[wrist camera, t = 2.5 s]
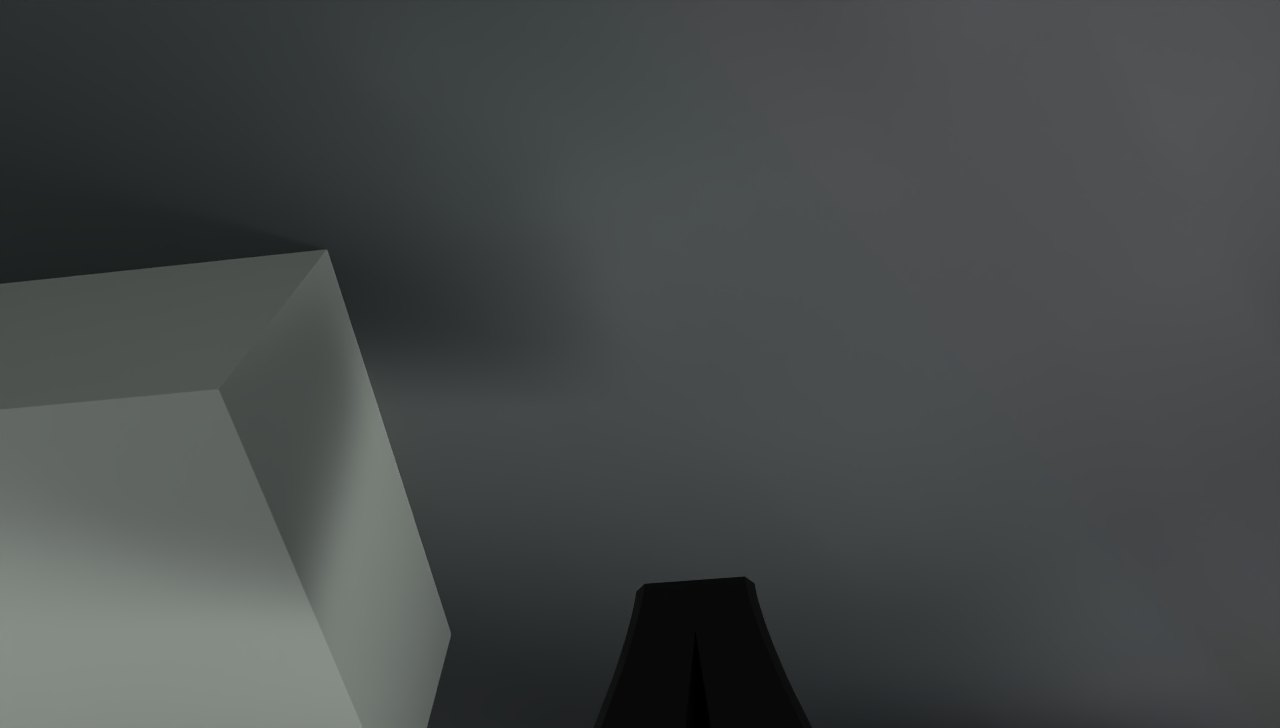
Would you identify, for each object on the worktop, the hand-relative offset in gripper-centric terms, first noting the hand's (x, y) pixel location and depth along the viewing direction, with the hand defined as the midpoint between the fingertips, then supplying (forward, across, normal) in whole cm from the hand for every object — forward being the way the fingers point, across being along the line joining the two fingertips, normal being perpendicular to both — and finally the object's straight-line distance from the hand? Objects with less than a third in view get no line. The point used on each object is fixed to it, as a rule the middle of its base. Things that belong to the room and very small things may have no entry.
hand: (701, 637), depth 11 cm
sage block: (+4, +8, 0) cm, 9 cm away
